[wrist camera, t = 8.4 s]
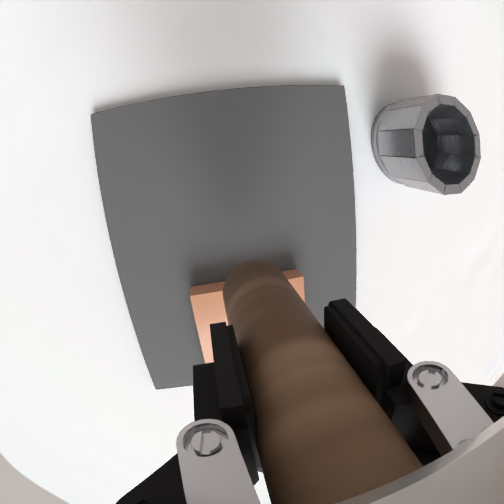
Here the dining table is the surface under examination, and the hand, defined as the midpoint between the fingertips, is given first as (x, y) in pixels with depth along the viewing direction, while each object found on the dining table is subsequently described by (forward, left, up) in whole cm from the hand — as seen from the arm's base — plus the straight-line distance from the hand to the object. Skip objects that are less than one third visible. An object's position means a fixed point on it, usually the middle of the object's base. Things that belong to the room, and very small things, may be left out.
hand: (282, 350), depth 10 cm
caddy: (-7, +13, -11) cm, 18 cm away
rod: (0, 0, -5) cm, 5 cm away
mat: (-1, 0, -11) cm, 11 cm away
